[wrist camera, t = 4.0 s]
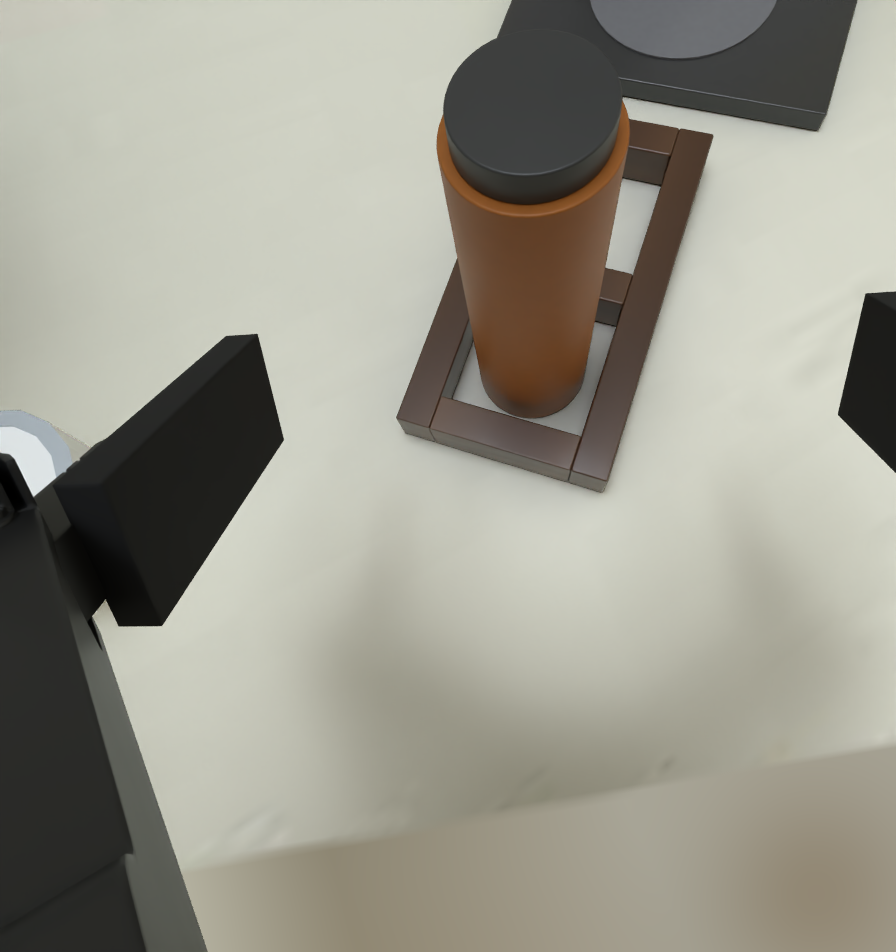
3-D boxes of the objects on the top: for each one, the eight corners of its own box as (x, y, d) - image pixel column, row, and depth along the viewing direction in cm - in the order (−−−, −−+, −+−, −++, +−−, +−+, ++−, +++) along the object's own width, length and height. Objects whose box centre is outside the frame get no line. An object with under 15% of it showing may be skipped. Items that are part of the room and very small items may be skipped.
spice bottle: (466, 401, 29) (401, 164, 15) (499, 311, 30) (468, 3, 15) (567, 430, 28) (603, 207, 14) (597, 336, 29) (661, 34, 15)
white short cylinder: (174, 445, 30) (71, 389, 24) (184, 592, 28) (76, 576, 22) (37, 476, 31) (-101, 429, 24) (39, 621, 29) (-110, 615, 22)
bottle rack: (404, 433, 29) (395, 417, 27) (518, 129, 32) (517, 97, 30) (602, 493, 27) (607, 481, 25) (702, 166, 30) (714, 133, 28)
